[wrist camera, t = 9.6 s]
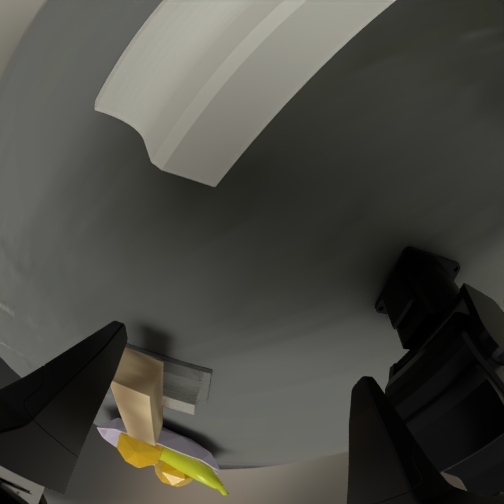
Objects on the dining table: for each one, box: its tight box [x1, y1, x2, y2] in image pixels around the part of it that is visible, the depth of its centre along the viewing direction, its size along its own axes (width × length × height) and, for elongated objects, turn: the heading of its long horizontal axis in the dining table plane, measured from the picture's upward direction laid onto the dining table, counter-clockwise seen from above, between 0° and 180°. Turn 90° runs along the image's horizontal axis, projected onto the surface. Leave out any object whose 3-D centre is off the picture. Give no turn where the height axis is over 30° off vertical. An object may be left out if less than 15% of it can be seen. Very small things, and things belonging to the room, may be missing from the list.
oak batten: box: [111, 348, 164, 446], centre depth 26 cm, size 4×18×4 cm, turn 165°
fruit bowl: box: [97, 418, 228, 496], centre depth 41 cm, size 28×27×11 cm
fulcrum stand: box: [110, 344, 212, 415], centre depth 29 cm, size 14×8×4 cm, turn 79°
